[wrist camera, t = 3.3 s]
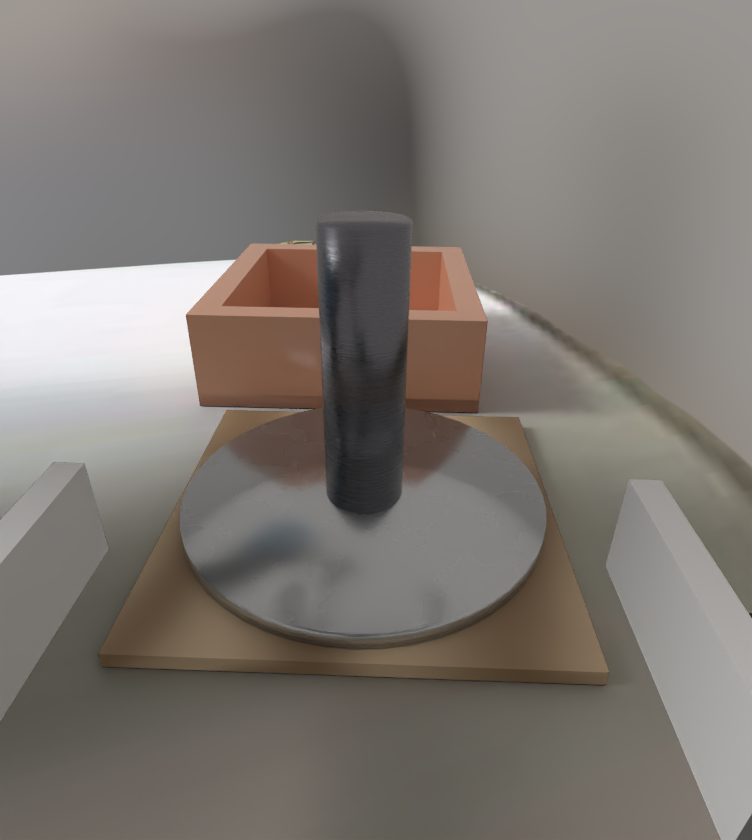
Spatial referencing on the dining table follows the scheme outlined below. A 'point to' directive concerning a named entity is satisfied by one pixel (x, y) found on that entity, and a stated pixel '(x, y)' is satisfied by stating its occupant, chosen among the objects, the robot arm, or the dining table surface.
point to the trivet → (438, 659)
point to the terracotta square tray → (300, 332)
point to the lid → (363, 483)
